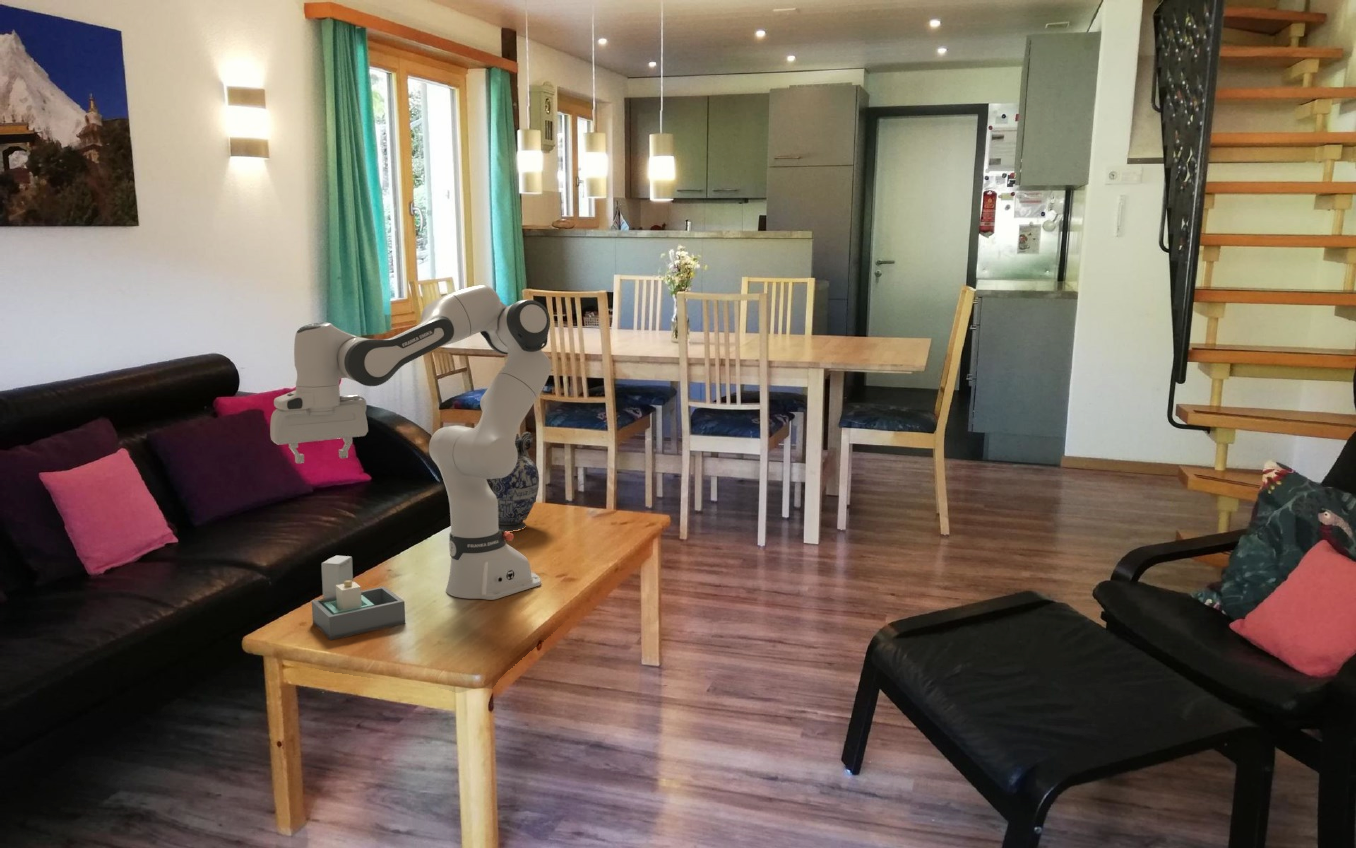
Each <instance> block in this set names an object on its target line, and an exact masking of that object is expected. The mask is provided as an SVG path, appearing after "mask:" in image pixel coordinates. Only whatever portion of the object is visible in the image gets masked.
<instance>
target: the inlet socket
mask: <svg viewBox="0 0 1356 848" xmlns="http://www.w3.org/2000/svg"><path fill="white" fill-rule="evenodd" d="M361 602H362V606H360V607H355V608H351V609H346V610H341V611H339V610H338V609H337V600H336V601H331V602H326V603H323V605H324V607H325V608H326V609H327V610H328V611H329V612H330V613H331V614H332V615H334V614H339V613H343V612H348V611H353V610H357V609H362V608H367V607H372V606H374V604H373V603H371V602H370V601H369V600H368V599H366V598H365V597H364V596H363V595H361Z"/></svg>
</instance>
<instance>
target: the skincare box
mask: <svg viewBox="0 0 1356 848" xmlns="http://www.w3.org/2000/svg"><path fill="white" fill-rule="evenodd" d="M353 572H354V571H353V557H352V556H349V555H347V556H346V555H337V554H336V555H335V556H332V557H330V558H328V559H327V560H325V561H323V562H321V581H322V583H321V584H322V585H321V586H322V599H324V598H329V597H334V596H336V585H340V584H344V581H347V580H351V581H352V582H354V574H353Z"/></svg>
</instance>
